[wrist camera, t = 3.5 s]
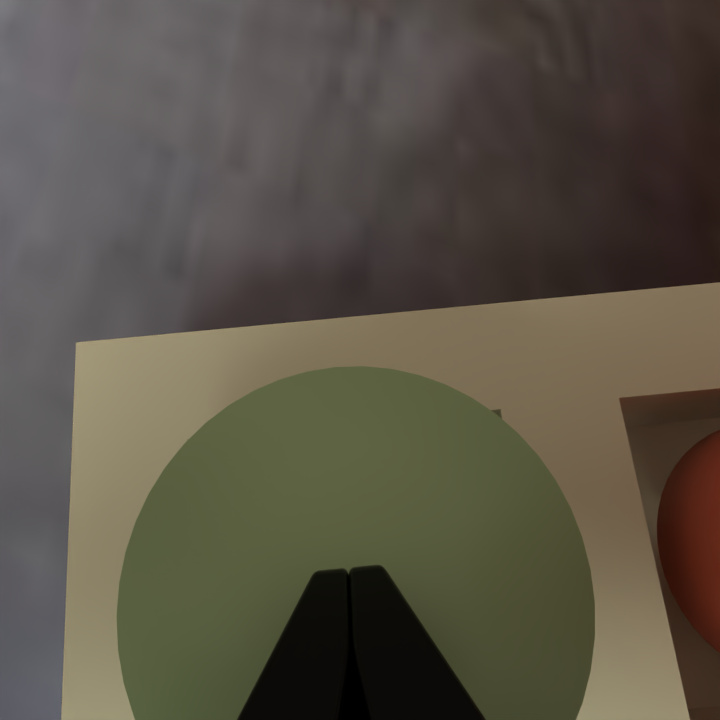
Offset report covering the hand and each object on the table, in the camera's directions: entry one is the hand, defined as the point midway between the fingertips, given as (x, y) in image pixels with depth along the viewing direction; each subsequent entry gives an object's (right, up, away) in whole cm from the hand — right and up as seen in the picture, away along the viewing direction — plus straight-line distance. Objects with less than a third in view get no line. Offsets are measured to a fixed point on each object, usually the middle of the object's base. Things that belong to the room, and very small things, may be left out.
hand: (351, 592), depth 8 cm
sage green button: (0, -2, +6) cm, 6 cm away
